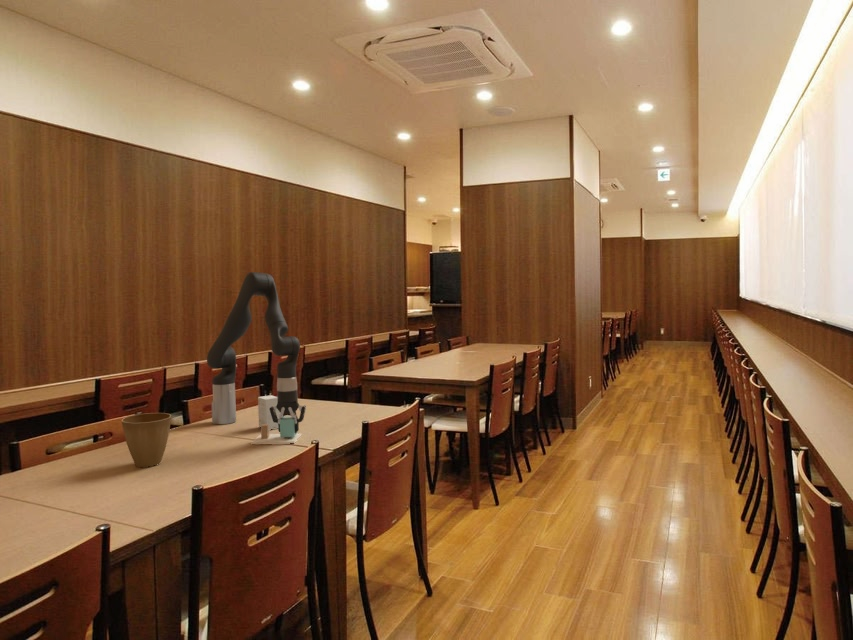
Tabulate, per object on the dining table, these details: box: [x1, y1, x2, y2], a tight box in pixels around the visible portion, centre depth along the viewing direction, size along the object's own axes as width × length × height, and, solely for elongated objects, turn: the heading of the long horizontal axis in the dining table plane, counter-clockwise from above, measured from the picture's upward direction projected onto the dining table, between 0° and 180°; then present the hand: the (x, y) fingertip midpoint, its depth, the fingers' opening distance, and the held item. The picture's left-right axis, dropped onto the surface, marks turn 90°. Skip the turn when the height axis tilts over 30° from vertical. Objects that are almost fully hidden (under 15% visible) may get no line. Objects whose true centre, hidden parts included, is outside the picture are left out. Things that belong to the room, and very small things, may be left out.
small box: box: [257, 394, 280, 431], centre depth 237 cm, size 8×6×13 cm
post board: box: [251, 424, 302, 445], centre depth 217 cm, size 16×12×6 cm
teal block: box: [279, 416, 298, 437], centre depth 217 cm, size 5×5×7 cm
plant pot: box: [121, 412, 172, 468], centre depth 189 cm, size 15×15×16 cm
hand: (288, 432), depth 217 cm, fingers closed on teal block, 4 cm apart
